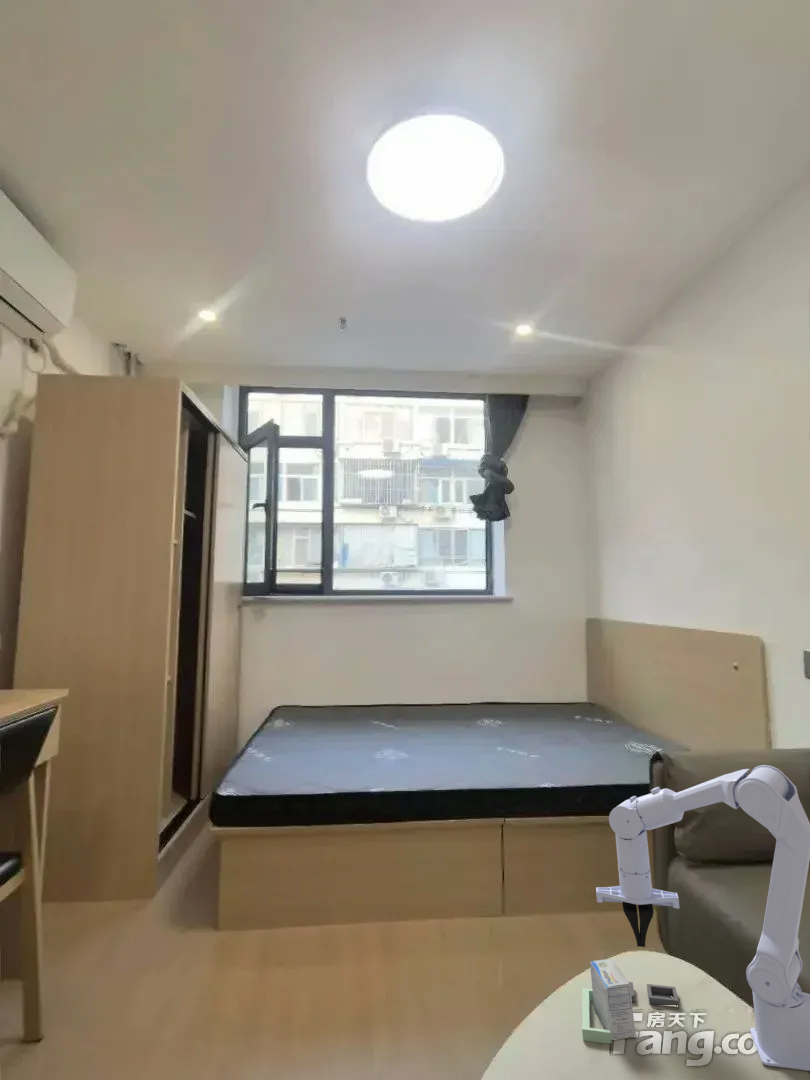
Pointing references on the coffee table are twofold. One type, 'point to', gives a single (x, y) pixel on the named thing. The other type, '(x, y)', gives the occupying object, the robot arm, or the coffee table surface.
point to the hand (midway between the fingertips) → (640, 943)
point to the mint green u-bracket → (588, 1032)
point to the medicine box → (612, 998)
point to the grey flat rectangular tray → (662, 995)
